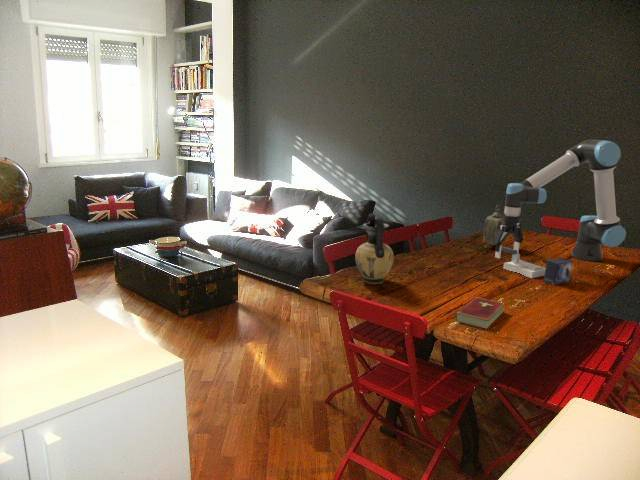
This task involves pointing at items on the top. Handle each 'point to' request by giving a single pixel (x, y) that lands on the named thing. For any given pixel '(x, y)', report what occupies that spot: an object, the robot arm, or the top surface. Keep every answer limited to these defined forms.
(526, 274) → the board
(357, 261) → the amphora
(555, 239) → the top surface
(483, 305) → the hardcover book
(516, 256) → the dark gray bar
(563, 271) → the small box
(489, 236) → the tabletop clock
